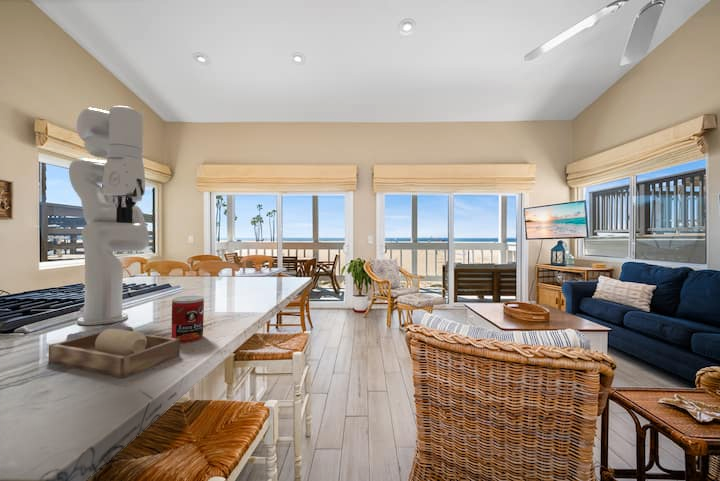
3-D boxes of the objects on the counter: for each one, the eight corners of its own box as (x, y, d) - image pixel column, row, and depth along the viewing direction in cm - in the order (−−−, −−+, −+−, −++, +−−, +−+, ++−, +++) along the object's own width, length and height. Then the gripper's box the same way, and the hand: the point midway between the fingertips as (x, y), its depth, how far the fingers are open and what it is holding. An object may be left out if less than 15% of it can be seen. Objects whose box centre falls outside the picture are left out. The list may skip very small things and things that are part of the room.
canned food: (174, 345, 81) (175, 302, 81) (168, 337, 87) (169, 297, 87) (206, 339, 86) (207, 298, 86) (198, 332, 92) (199, 294, 92)
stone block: (60, 355, 78) (89, 351, 75) (58, 335, 78) (87, 331, 76) (110, 342, 90) (137, 338, 87) (108, 324, 90) (135, 321, 87)
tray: (48, 362, 69) (48, 345, 69) (111, 344, 81) (111, 329, 81) (123, 378, 62) (124, 358, 62) (179, 355, 74) (179, 339, 74)
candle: (111, 323, 74) (143, 327, 71) (124, 339, 77) (156, 344, 74) (89, 342, 69) (122, 348, 66) (103, 358, 72) (136, 364, 69)
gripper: (91, 153, 85) (89, 221, 85) (132, 149, 81) (131, 222, 81) (119, 159, 92) (118, 223, 92) (159, 157, 88) (158, 223, 88)
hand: (124, 222), depth 86 cm, fingers closed
